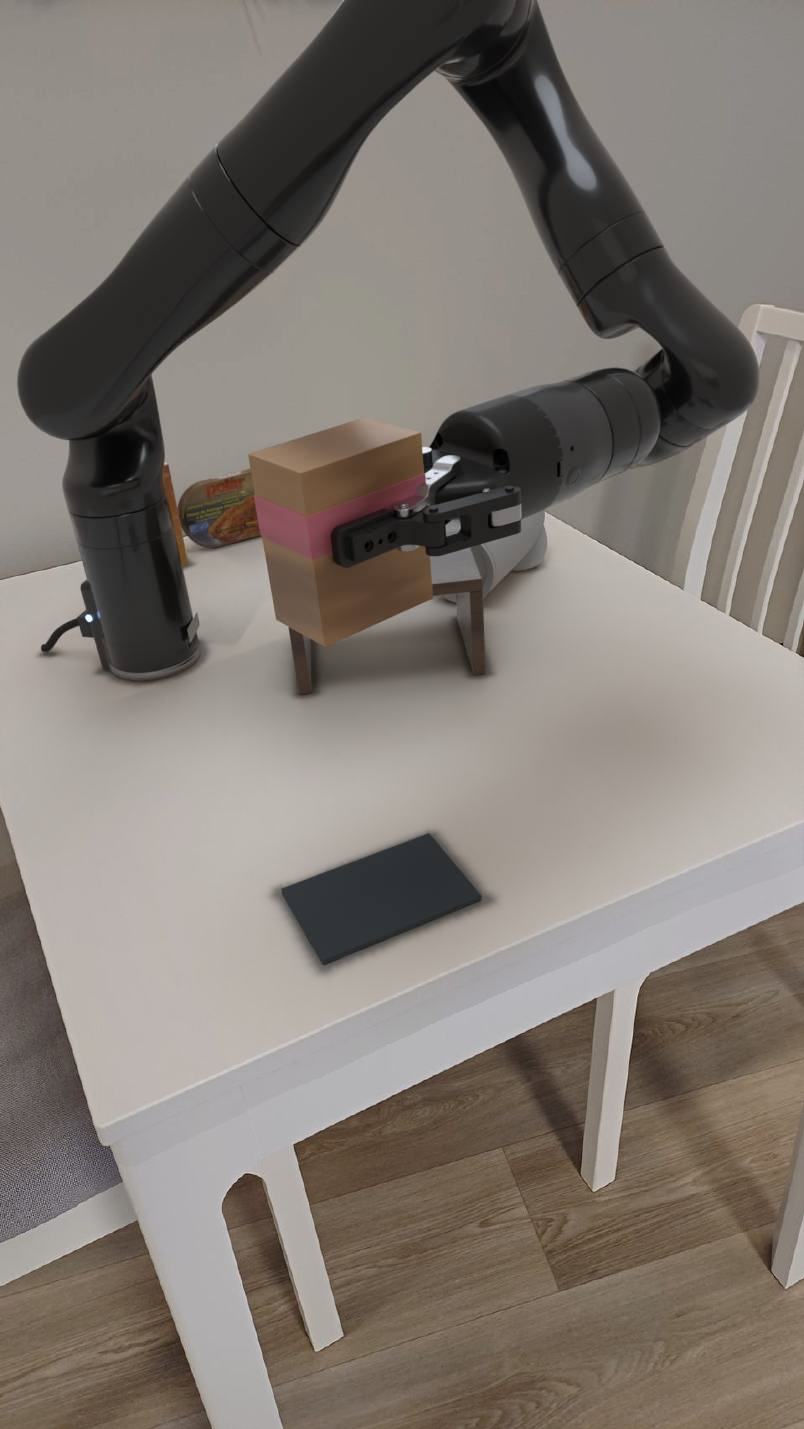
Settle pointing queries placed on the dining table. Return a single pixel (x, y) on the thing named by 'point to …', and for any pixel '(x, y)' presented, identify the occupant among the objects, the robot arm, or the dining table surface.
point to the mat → (378, 897)
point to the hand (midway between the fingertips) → (306, 536)
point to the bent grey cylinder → (509, 553)
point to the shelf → (447, 578)
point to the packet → (327, 493)
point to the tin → (220, 510)
